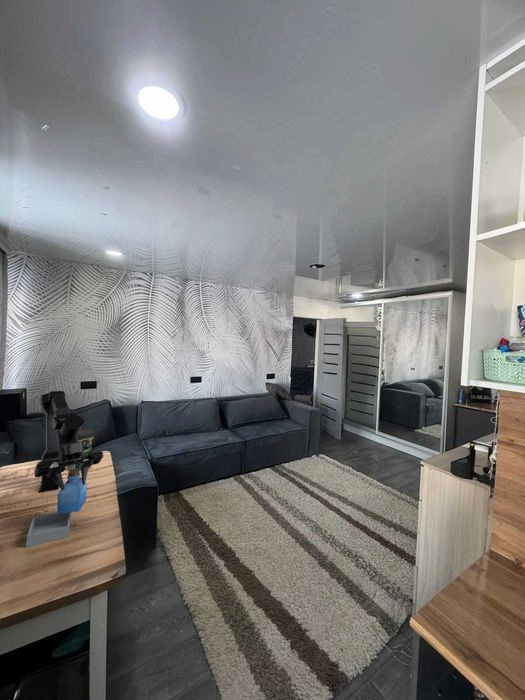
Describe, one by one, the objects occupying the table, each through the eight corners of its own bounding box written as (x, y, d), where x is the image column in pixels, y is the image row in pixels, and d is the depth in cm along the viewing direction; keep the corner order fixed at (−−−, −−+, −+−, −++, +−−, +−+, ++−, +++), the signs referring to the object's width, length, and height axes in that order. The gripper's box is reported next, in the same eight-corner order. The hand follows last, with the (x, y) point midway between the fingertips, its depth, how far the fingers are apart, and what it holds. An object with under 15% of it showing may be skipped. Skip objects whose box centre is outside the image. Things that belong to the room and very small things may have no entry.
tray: (32, 527, 87) (33, 517, 88) (70, 519, 93) (71, 509, 93) (25, 547, 79) (26, 536, 79) (68, 537, 84) (69, 526, 84)
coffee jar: (84, 462, 138) (87, 426, 138) (94, 466, 134) (97, 429, 135) (64, 469, 129) (67, 430, 129) (74, 473, 125) (77, 433, 126)
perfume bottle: (56, 513, 86) (59, 476, 86) (65, 502, 92) (67, 467, 92) (79, 511, 88) (81, 474, 88) (85, 500, 94) (87, 466, 94)
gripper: (38, 437, 86) (42, 485, 78) (103, 428, 100) (112, 468, 92) (32, 454, 91) (35, 501, 83) (95, 443, 105) (102, 482, 97)
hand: (73, 487), depth 89 cm, fingers closed on perfume bottle, 5 cm apart
